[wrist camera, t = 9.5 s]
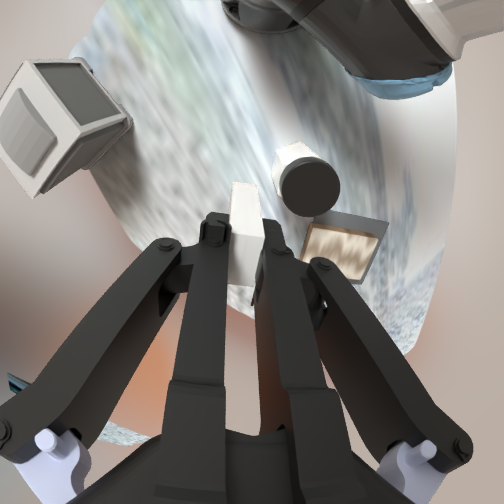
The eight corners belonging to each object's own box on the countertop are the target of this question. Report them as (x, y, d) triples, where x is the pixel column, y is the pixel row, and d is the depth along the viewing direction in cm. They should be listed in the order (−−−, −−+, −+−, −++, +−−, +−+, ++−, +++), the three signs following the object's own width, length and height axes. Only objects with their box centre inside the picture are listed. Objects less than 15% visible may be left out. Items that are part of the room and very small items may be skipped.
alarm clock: (38, 106, 35) (-28, 128, 20) (80, 54, 32) (12, 53, 16) (89, 170, 44) (32, 213, 29) (136, 122, 40) (82, 146, 25)
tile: (313, 228, 49) (378, 240, 51) (310, 222, 52) (373, 233, 53) (299, 273, 55) (360, 279, 56) (297, 265, 57) (356, 272, 59)
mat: (317, 208, 50) (318, 208, 50) (388, 222, 52) (389, 223, 52) (296, 276, 59) (296, 277, 59) (361, 283, 61) (361, 284, 61)
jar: (313, 192, 49) (332, 223, 39) (268, 186, 48) (276, 217, 38) (323, 144, 44) (348, 163, 34) (276, 136, 43) (287, 153, 33)
